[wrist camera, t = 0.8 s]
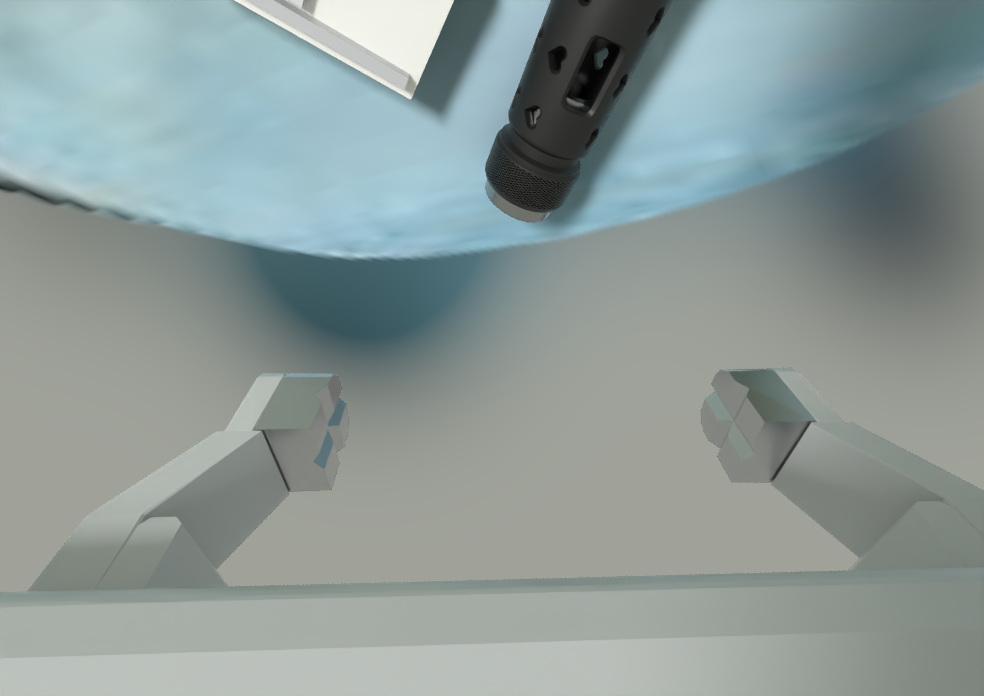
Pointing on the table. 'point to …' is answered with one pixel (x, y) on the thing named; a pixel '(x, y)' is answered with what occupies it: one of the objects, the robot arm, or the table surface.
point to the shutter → (298, 2)
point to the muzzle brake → (565, 100)
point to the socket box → (366, 33)
